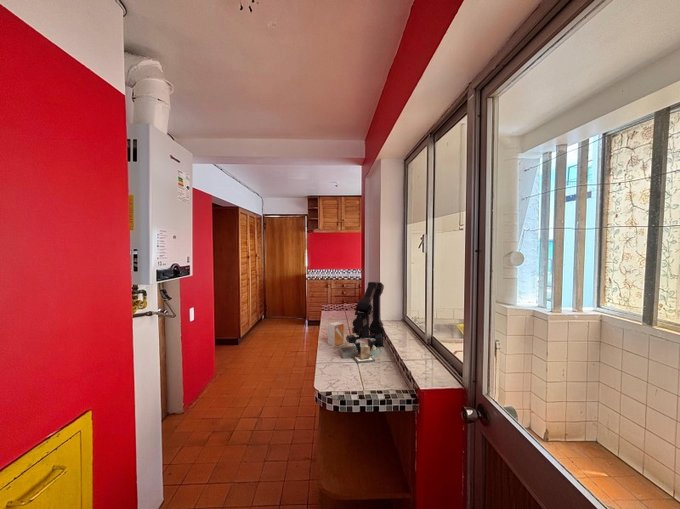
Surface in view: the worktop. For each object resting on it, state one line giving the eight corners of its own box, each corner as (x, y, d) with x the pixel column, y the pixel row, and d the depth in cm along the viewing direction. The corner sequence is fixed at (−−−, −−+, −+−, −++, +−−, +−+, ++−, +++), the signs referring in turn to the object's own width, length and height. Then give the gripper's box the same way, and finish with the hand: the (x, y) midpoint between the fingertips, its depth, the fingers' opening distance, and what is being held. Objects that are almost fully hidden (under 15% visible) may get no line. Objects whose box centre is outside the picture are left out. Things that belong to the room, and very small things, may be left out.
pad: (369, 356, 171) (369, 355, 171) (375, 361, 163) (375, 359, 163) (352, 358, 168) (352, 356, 168) (357, 363, 160) (357, 361, 160)
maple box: (371, 350, 183) (371, 343, 183) (375, 353, 176) (375, 347, 176) (363, 350, 181) (363, 343, 181) (367, 354, 175) (367, 347, 175)
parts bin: (372, 348, 185) (372, 344, 185) (379, 354, 175) (379, 349, 175) (337, 351, 179) (337, 347, 179) (343, 357, 168) (343, 353, 168)
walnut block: (366, 355, 168) (366, 344, 168) (369, 358, 164) (370, 346, 164) (357, 355, 167) (358, 344, 167) (361, 359, 162) (361, 347, 162)
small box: (334, 346, 188) (334, 325, 188) (327, 344, 193) (327, 323, 192) (343, 343, 194) (344, 323, 193) (337, 341, 198) (337, 321, 198)
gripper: (374, 320, 175) (374, 347, 176) (343, 322, 170) (342, 350, 170) (382, 325, 165) (382, 354, 165) (349, 327, 159) (349, 357, 160)
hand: (363, 353), depth 165 cm, fingers open, 5 cm apart
